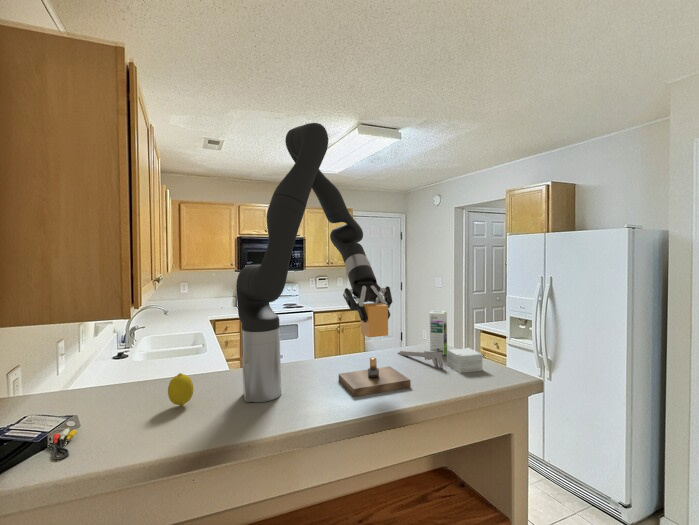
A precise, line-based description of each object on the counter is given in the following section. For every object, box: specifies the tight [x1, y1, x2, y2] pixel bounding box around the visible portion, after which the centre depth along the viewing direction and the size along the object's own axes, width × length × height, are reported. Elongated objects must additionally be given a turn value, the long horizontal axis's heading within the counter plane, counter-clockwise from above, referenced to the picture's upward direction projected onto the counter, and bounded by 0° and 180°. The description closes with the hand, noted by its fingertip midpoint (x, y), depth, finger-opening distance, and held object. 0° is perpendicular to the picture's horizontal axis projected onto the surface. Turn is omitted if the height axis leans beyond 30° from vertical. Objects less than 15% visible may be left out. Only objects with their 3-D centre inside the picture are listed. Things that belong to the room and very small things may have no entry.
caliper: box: [397, 348, 444, 370], centre depth 118 cm, size 20×1×6 cm, turn 32°
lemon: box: [167, 372, 194, 407], centre depth 86 cm, size 6×6×8 cm
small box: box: [446, 347, 483, 374], centre depth 110 cm, size 8×8×5 cm
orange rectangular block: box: [360, 302, 389, 338], centre depth 98 cm, size 6×6×8 cm
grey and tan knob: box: [367, 357, 379, 379], centre depth 98 cm, size 3×3×5 cm
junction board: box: [338, 365, 412, 398], centre depth 98 cm, size 16×12×2 cm
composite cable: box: [48, 427, 79, 462], centre depth 69 cm, size 10×5×2 cm, turn 29°
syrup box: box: [429, 310, 448, 356], centre depth 126 cm, size 6×6×14 cm
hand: (376, 319), depth 96 cm, fingers closed on orange rectangular block, 5 cm apart
